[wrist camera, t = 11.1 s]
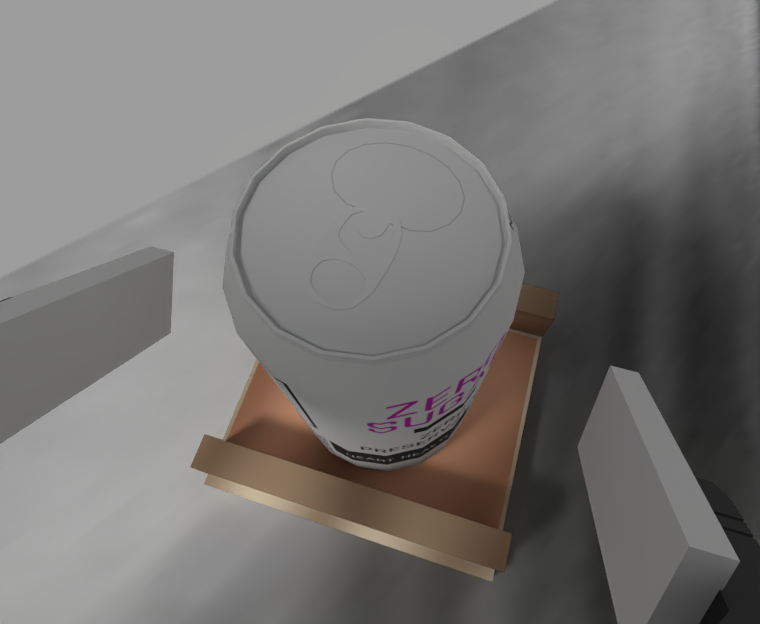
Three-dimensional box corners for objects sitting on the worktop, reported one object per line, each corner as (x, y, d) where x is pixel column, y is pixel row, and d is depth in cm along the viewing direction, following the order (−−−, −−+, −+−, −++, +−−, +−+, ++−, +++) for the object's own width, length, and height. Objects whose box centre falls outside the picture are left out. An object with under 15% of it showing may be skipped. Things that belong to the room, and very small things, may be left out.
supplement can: (353, 292, 29) (310, 66, 15) (492, 357, 27) (585, 166, 14) (273, 423, 26) (135, 289, 13) (423, 505, 24) (452, 453, 11)
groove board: (212, 486, 26) (185, 478, 23) (309, 252, 32) (298, 218, 28) (488, 580, 24) (501, 586, 21) (543, 312, 30) (561, 283, 26)
